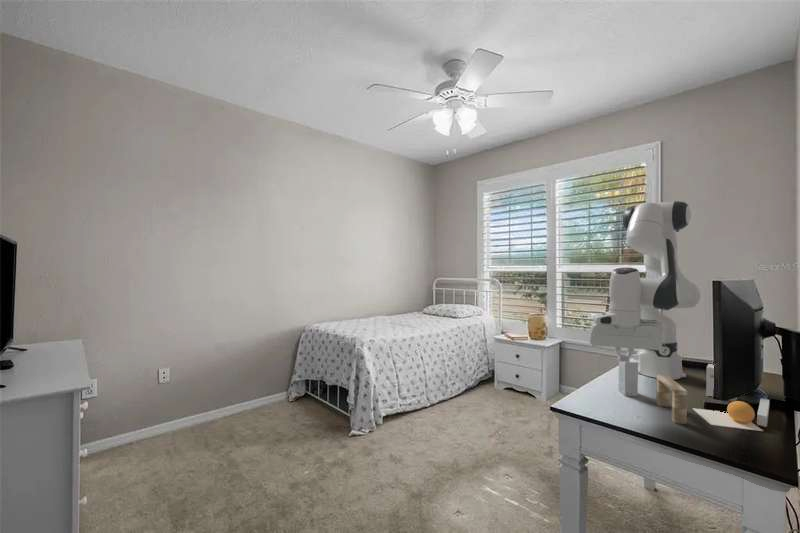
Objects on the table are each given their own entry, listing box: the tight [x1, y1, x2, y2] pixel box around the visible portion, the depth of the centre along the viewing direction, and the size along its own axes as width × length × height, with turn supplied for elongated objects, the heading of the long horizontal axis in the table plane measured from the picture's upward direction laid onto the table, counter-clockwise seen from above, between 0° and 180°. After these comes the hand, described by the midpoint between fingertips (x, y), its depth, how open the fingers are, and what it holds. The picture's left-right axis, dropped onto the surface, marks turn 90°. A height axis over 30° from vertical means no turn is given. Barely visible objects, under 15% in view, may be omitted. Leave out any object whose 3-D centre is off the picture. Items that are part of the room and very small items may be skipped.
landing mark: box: [692, 407, 764, 432], centre depth 110 cm, size 12×12×1 cm
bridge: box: [655, 374, 688, 425], centre depth 114 cm, size 3×15×10 cm, turn 162°
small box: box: [705, 363, 715, 397], centre depth 127 cm, size 8×6×10 cm
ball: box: [726, 400, 756, 423], centre depth 108 cm, size 6×6×6 cm
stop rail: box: [756, 397, 770, 428], centre depth 112 cm, size 18×2×3 cm, turn 133°
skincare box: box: [618, 358, 639, 397], centre depth 131 cm, size 6×4×12 cm
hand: (623, 361), depth 118 cm, fingers closed
